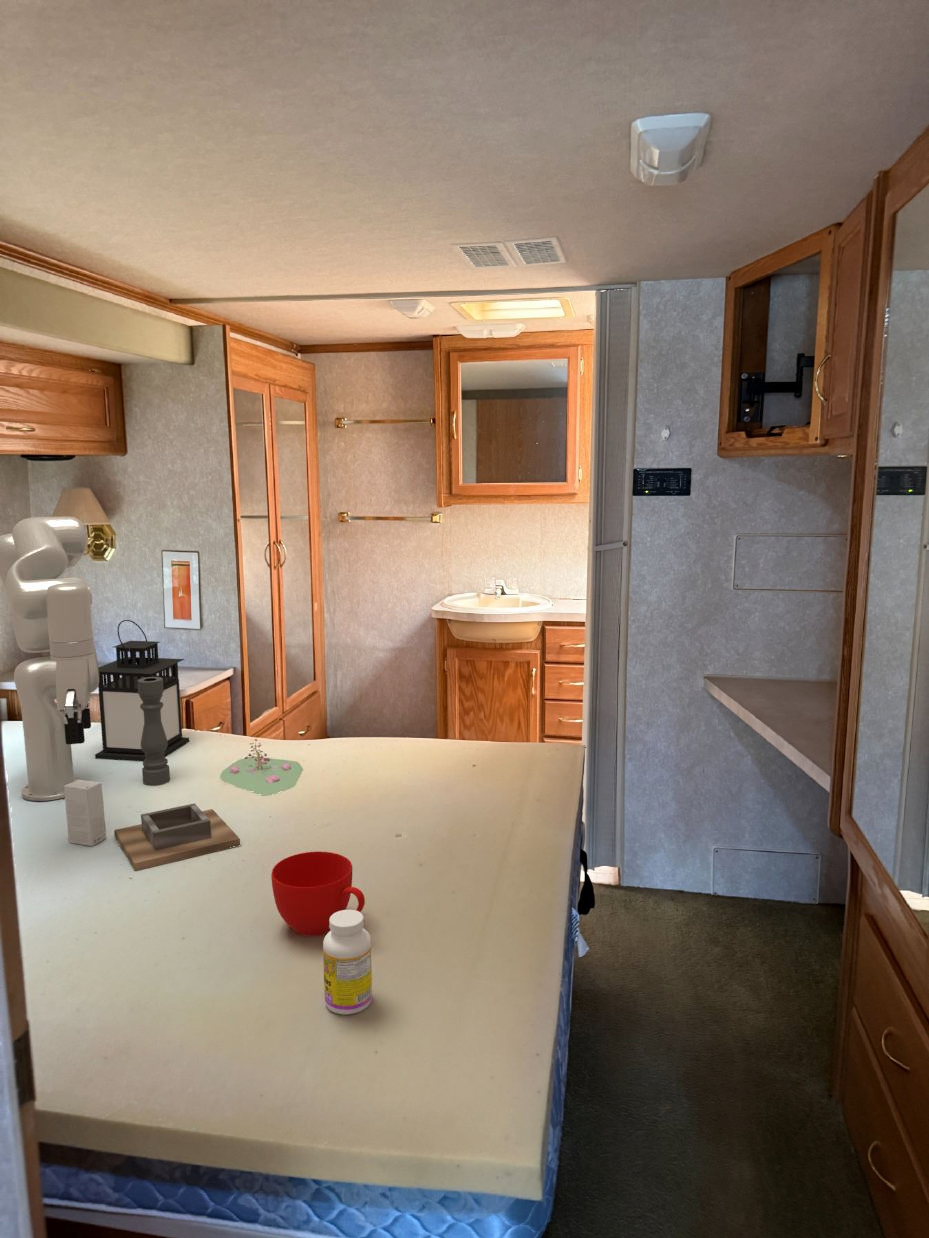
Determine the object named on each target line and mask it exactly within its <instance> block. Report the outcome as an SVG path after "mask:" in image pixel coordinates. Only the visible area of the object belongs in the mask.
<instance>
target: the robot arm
mask: <svg viewBox="0 0 929 1238" xmlns="http://www.w3.org/2000/svg"><path fill="white" fill-rule="evenodd" d="M86 529H87V528H86V527H85V525H84V523H83V522H82V521H81V520H80V519H78V518H77V517H74V516H65V515H63V516H34V517H27V518H24V519H21V520H20V521H18V522H17V523H16V524H15V526H14V527H13V529H12V531H11V532H12V533H5V534H2V535H0V579H1V581H2V583H3V585H4V587H5V590H6V594H7V597H8V601H9V604H10V608H11V614H12V616H11V617H12V623H13V629H14V635H15V640H16V644H17V646H18V648H19V649H20V650H21V651H22V652H25V653H35V654H36V653H50V656H43V657H35V658H30V659H27V660H24V661H23V662H20V663H19V664H18V665H16V667H15V668H14V672H13V679H14V685H15V688H16V692H17V697H18V700H19V705H20V711H21V717H22V718H21V719H22V730H23V737H24V738H23V739H24V751H25V760H26V761H25V763H26V773H27V775H26V776H27V782H28V783H27V785H25V786H24V787H23V788H22V789H21V791H20V792H21V793H20V794H21V797H22V798H23V799H24V800H27V801H32V802H46V801H55V800H60V799H65V793H64V786H65V785H67V784H70V783H72V782H74V781H77V780H79V779H77V778H76V777H75V775H74V765H73V752H72V745H79V744H80V745H82V744H84V743H85V729H86V730H87V729H90V728H91V727H92V721H91V720H92V719H91V708H90V700H91V693H94V692H95V691H96V690H98V686H99V678H100V677H99V668H98V667H99V663H98V656H97V651H96V644H95V638H94V637H95V636H94V632H93V620H92V605H93V604H92V603H93V594H92V593H93V592H92V587H91V586H90V585H89V584H88V583H87V582H86V581H85V580H84V579H82V578H79V577H63V578H59V577H61V576H62V575H63V574H64V573H65V571H66V570H67V568H72V567H75V566H76V565H78V563H80V561H81V559H82V557H83V556H84V555H85V553H86V551H87V548H88V543H89V538H88V532H87V530H86ZM55 700H56V701H55ZM74 777H75V778H74Z"/></svg>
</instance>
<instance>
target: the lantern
mask: <svg viewBox="0 0 929 1238" xmlns="http://www.w3.org/2000/svg"><path fill="white" fill-rule="evenodd" d="M123 622H130V623H132V624H134V625H135V626H137V627H138V629H139V630H140V631H141V633H142V634H143V636H144V639H145V640H128V641H125V642H122V639H121V636H120V626H121V624H122V623H123ZM117 638H118V641H119V642H120V644H117V645H114V646H113V648H115V652H116V653H115V654H116V660H114V661H111V662H109V663H107V664H104V665H101V666H98V668H99V677H100V678H99V686H98V688H97V690H98V700H99V701H98V702H99V712H100V713H99V714H100V725H101V728H100V730H101V741H102V750H100V751H98V752H96V753H95V754H94V759H95V760H112V761H127V762H128V761H130V762H142V763H143V761H145V758H146V756H145V753H144V752H143V751H142V749H141V738H142V733H143V727H144V711H143V710H142V709H141V708H140V705H141V704H142V703H143V701H142V699H141V698H140V695H139V694H138V682H137V680H139V679H141V678H146V677H161V678H163V690H164V692H163V693H162V694H163V695H162V697H161V700H160V702H162V703H163V707H162V708H161V722H162V725H163V728H164V732H165V735H166V738H167V741H168V745H167V748H166V750H165V751H164V752H165V754H164V755H163V756H165V758H166V757H169V755H171V754H173V753H174V752H177V750H179V749H181V748H182V747H183V746H185V745H187V744H188V743H190V737H185V736H184V737H183V730H182V729H183V728H182V726H183V725H182V712H181V711H182V710H181V707H182V706H181V692H180V689H181V688H180V679H179V666H178V663H180V662H182V661H185V660H186V659H185V658H170V657H169V658H166V657H163V658H162V657H159V649H158V648H159V647H158V645H159V644H160V643H161V641H151V640H149V641H148V639H147V635H146V634H145V631H143V629H142V628H141V626H140V625H139V624H137V623H136V622H135V621H133V620H130V619H123V620H122V621H120V622H119V624H118V625H117ZM137 653H138V657H137ZM157 674H158V675H157Z"/></svg>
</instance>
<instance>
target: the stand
mask: <svg viewBox="0 0 929 1238" xmlns="http://www.w3.org/2000/svg"><path fill="white" fill-rule="evenodd" d="M140 820H141V823H140V824H134V825H130V826H125V827H121V828H115V829H114V838H115V839H116V841H117V843H118V845H119V844H120V845H119V847H120V848H121V849H122V851H123V853H124V855H125V857H126V858H127V860H128V862H129V864H130V865H131V866H132V868H133V870H134V871H141V870H145V869H149V868H154V867H158V866H162V865H165V864H169V863H173V862H178V861H183V860H185V859H190V858H195V857H199V856H203V855H207V854H212V853H215V852H220V851H224V850H228V849H227V848H229V849H231V848H230V847H233V846H237V847H240V846H241V838H240V837H239V836H238V835H237V833H235V832H234V831H233V830H232V828H231V827H230V826H229V825H228V824H227V823H226V822H225V820H223V818H221V816H219V814H218V813H216V811H215V810H214V809H213V808H211V809H207V810H202V809H200V807H199V806H198V805H197V804H196V803H195V802H194V803H191V804H186V805H181V806H176V807H171V808H167V809H166V808H165V809H161V810H155V811H151V812H146V813H142V814H140ZM239 845H240V846H239ZM233 848H234V847H233ZM223 849H224V850H223Z"/></svg>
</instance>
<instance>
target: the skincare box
mask: <svg viewBox="0 0 929 1238" xmlns="http://www.w3.org/2000/svg"><path fill="white" fill-rule="evenodd" d="M64 793H65V797H64V802H65V804H64V805H65V815H66V826H67V838H68V840H67V841H68V843H69V844H77V845H81V846H89V847H93V846H95V845H97V844H98V843H100V842H103V841H104V840H106V839H107V830H106V818H105V816H106V815H105V804H104V794H103V782H102V781H101V782H99V781H91V780H85V779H78V780H77V781H74V782H72V783H70V784H67V785H65V786H64Z"/></svg>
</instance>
